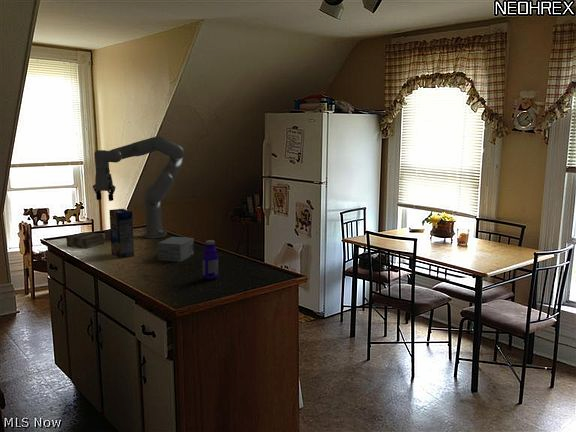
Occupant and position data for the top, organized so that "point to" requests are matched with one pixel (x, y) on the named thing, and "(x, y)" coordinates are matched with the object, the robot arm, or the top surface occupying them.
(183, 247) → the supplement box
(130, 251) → the juice carton
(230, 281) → the top surface
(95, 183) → the robot arm
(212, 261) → the bottle
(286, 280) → the top surface
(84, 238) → the grey flat block
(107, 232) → the terracotta cube
